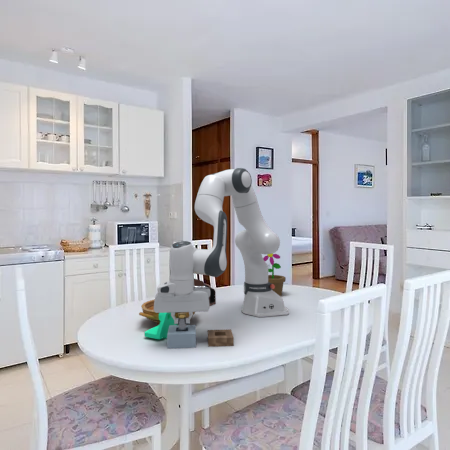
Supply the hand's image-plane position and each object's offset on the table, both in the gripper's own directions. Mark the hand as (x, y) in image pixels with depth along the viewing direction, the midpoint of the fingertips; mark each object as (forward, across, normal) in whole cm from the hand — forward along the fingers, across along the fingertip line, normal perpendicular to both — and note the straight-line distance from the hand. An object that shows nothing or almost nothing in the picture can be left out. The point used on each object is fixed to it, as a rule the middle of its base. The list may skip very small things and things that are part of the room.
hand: (182, 323), depth 135 cm
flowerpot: (+8, -49, -71) cm, 86 cm away
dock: (+7, 0, 0) cm, 7 cm away
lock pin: (+6, 0, 0) cm, 6 cm away
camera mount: (+8, +8, -9) cm, 14 cm away
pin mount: (+7, -14, 0) cm, 16 cm away
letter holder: (+8, -5, -57) cm, 57 cm away
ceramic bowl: (+7, +6, -25) cm, 27 cm away
